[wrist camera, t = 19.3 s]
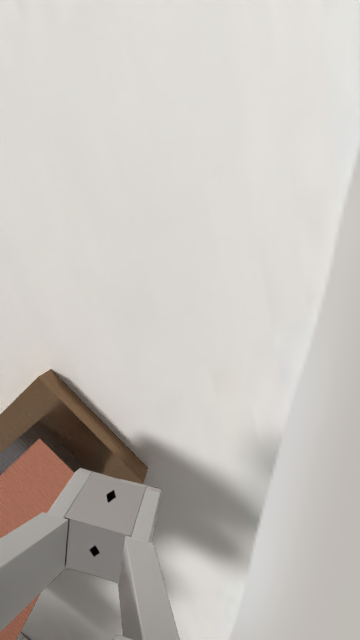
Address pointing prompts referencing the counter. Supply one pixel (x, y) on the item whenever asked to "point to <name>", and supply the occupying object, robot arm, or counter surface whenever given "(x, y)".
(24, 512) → the shaft
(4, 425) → the shaft rig
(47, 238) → the counter surface
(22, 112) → the counter surface
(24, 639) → the cookie jar
